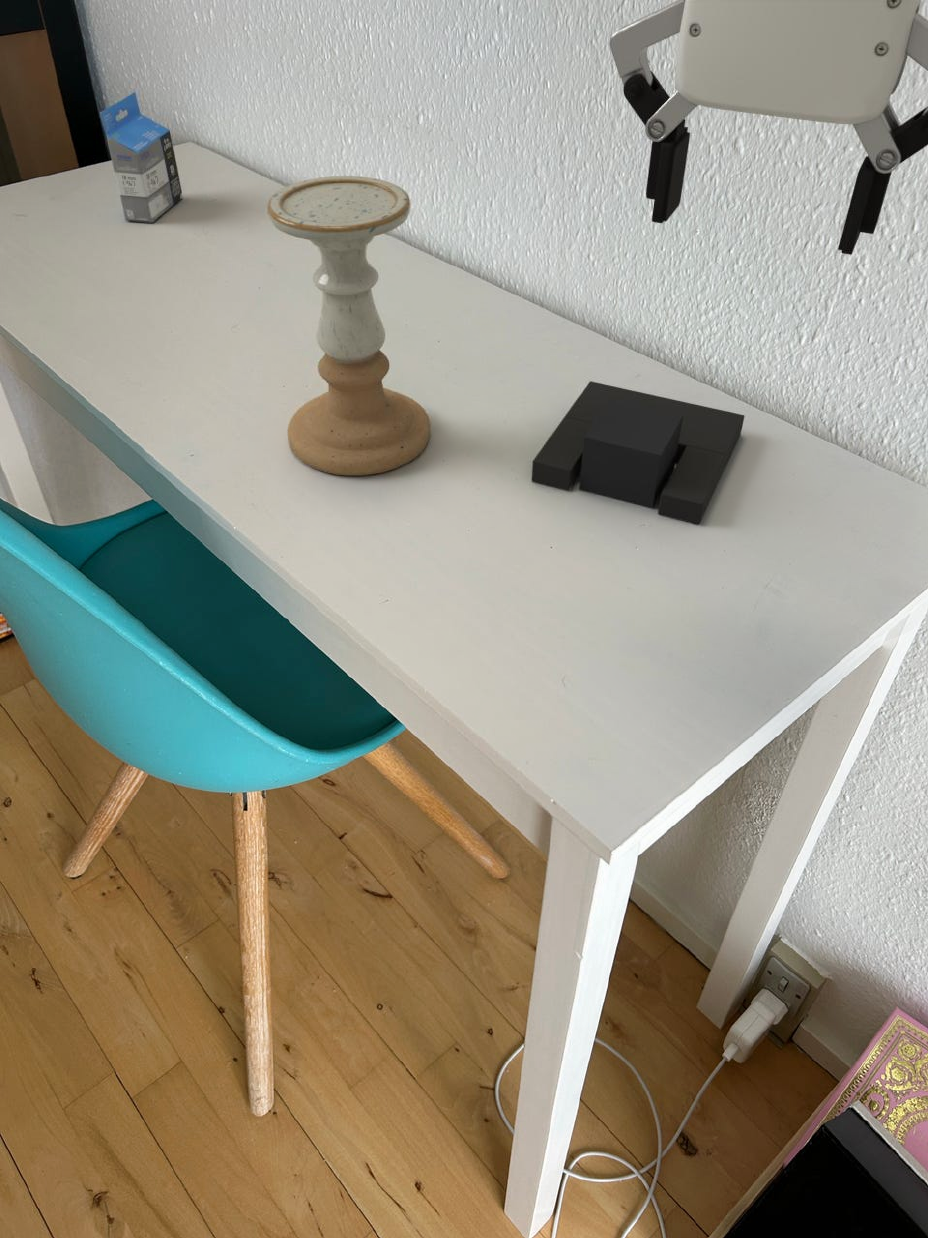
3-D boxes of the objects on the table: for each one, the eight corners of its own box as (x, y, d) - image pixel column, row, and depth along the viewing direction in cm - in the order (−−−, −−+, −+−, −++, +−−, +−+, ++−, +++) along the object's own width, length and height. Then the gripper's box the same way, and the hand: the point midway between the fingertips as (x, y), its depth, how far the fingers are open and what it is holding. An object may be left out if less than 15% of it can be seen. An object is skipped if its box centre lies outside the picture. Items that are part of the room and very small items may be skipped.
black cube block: (674, 467, 81) (683, 415, 78) (652, 508, 77) (661, 455, 74) (603, 450, 83) (609, 398, 80) (578, 489, 79) (583, 436, 76)
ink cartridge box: (153, 224, 119) (129, 115, 111) (124, 221, 120) (98, 112, 112) (184, 197, 126) (164, 92, 117) (156, 195, 126) (134, 90, 118)
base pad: (740, 434, 85) (745, 414, 83) (698, 525, 76) (703, 504, 74) (588, 400, 89) (590, 380, 88) (531, 481, 80) (532, 460, 79)
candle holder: (275, 474, 81) (234, 230, 67) (303, 397, 90) (273, 168, 76) (423, 480, 80) (413, 235, 66) (437, 402, 89) (431, 171, 75)
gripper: (1074, -195, 39) (935, 230, 51) (659, -206, 45) (619, 181, 56) (1073, -179, 34) (919, 287, 46) (606, -194, 40) (575, 227, 52)
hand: (754, 228), depth 51 cm, fingers open, 9 cm apart
